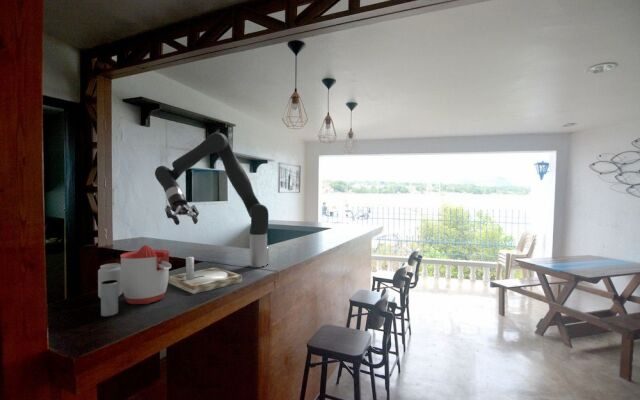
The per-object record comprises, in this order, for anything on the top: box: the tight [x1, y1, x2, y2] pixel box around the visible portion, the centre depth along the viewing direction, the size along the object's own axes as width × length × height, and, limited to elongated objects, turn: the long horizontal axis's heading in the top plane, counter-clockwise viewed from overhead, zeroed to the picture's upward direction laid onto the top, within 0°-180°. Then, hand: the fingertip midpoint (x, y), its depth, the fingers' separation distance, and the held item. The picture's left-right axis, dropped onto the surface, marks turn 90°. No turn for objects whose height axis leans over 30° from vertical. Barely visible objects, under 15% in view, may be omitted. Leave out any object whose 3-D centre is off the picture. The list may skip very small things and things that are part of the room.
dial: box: [183, 256, 227, 284], centre depth 133 cm, size 18×18×10 cm
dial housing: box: [168, 266, 243, 295], centre depth 133 cm, size 22×22×3 cm
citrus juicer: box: [119, 244, 172, 305], centre depth 111 cm, size 16×17×20 cm
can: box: [97, 262, 124, 299], centre depth 114 cm, size 8×8×12 cm
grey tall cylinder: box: [100, 280, 119, 317], centre depth 98 cm, size 4×4×10 cm
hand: (187, 223), depth 142 cm, fingers open, 8 cm apart
